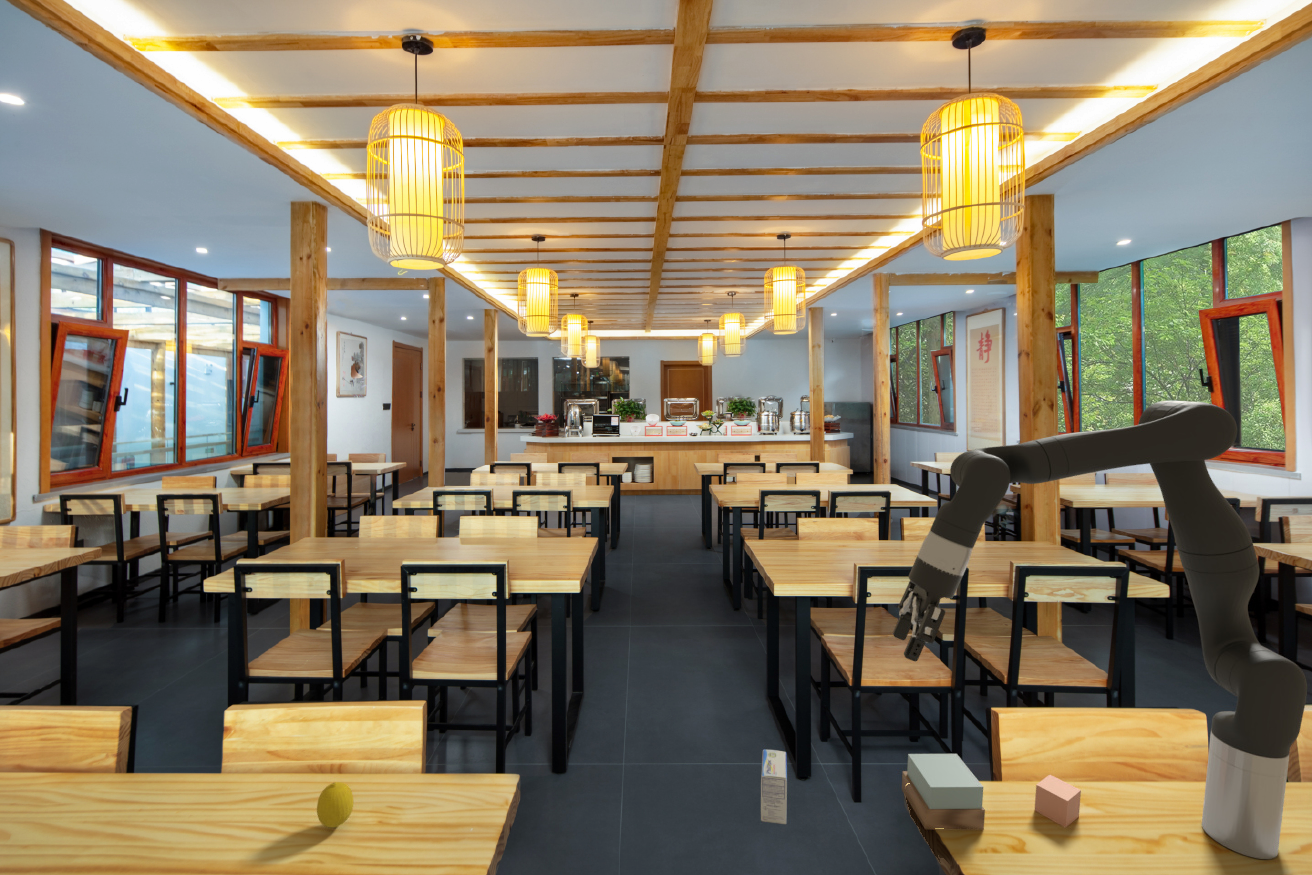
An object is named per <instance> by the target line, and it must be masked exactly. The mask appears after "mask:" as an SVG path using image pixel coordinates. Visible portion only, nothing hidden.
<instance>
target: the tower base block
mask: <svg viewBox="0 0 1312 875" xmlns="http://www.w3.org/2000/svg"><path fill="white" fill-rule="evenodd" d="M901 773H902V776H901V777H902V779H901V790H902V792H903V795H904V796H905V798H906V799H907V801H908V803H909V804H910V805H911V808H912V809H913V811H914V813H915V815H916V816H917V818H918V820H919V821H920V823H921V825H922V827H923V828H924V830H936V829H935V828H944V829H943V830H961V831H962V830H963V831H964V830H968V831H969V830H970V831H971V830H976V831H977V830H979V831H980V830H985V815H986V814H985V813H986V809H985V808H984V807H983V806H982V809H929V807H928V806H927V804H926V803H925V801H924V800H923V798H922V797H921V795H920V793H919V792H918V790H917V789H916V787H915V786H914V784H913V783H912V781H911V779H910V778H909V776H908V775H907V770H905V771H904V770H902V772H901ZM907 783H910V784H908V785H907V786H906V789H905V785H906V784H907ZM906 791H907V793H906Z"/></svg>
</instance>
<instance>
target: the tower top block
mask: <svg viewBox="0 0 1312 875" xmlns="http://www.w3.org/2000/svg"><path fill="white" fill-rule="evenodd" d="M906 771H907V775H908V776H909V778H910V779H911V781H912V783H913V784H914V786H915V787H916V789H917V790H918V792H919V793H920V795H921V797H922V798H923V800H924V801H925V803H926V804H927V806H928V807H929V809H982V807H983V800H984V799H983V798H984V785H983V784H982V783H981V782H980V781H979V779H978V778H977V777H976V776H975V775H974V774H973V772H972V771H971V770H970V768H969V767H968V765H966V763H965V762H964V761H963V760H962V758H961V757H960V756H959V755H958V753H908V754H907V770H906Z"/></svg>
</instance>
